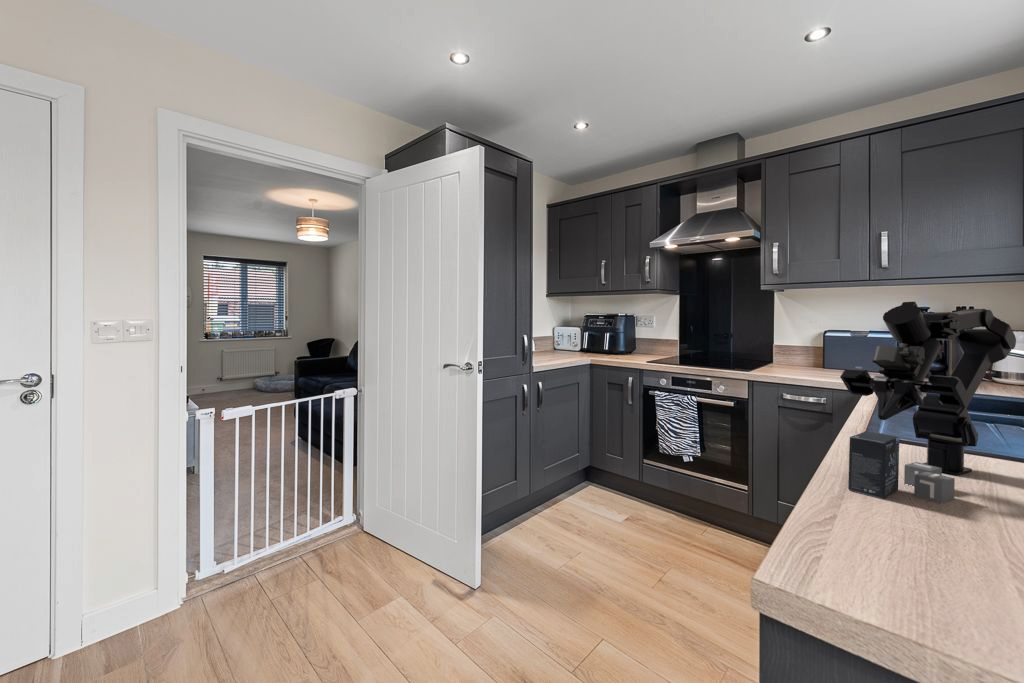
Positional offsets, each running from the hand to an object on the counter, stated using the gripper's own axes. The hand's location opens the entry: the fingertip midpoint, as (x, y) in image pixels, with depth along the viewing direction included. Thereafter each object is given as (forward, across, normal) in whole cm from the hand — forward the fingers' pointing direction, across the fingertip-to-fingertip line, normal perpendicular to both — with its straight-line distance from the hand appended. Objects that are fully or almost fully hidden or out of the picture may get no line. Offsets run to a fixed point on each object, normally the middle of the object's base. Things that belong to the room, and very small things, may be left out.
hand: (881, 418), depth 85 cm
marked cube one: (+3, +3, +16) cm, 17 cm away
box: (+11, 0, +8) cm, 14 cm away
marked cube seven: (+7, +7, +12) cm, 16 cm away
